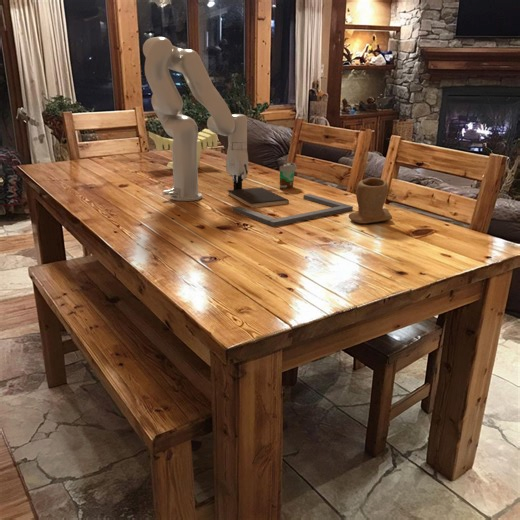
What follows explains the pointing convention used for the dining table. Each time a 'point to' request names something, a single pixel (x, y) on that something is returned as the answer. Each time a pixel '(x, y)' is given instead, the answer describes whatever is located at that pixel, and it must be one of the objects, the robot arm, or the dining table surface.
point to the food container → (287, 175)
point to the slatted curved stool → (203, 141)
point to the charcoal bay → (300, 217)
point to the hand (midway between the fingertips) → (237, 190)
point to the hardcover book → (257, 197)
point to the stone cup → (371, 201)
